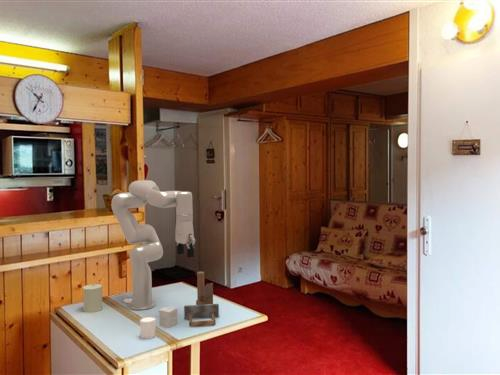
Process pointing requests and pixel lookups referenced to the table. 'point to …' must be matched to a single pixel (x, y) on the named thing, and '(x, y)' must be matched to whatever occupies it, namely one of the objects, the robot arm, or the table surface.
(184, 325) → the table surface
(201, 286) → the wooden block
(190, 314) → the post bracket
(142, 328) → the pale pink cylinder
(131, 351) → the table surface
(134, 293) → the robot arm
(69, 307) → the table surface
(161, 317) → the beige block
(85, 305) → the can
